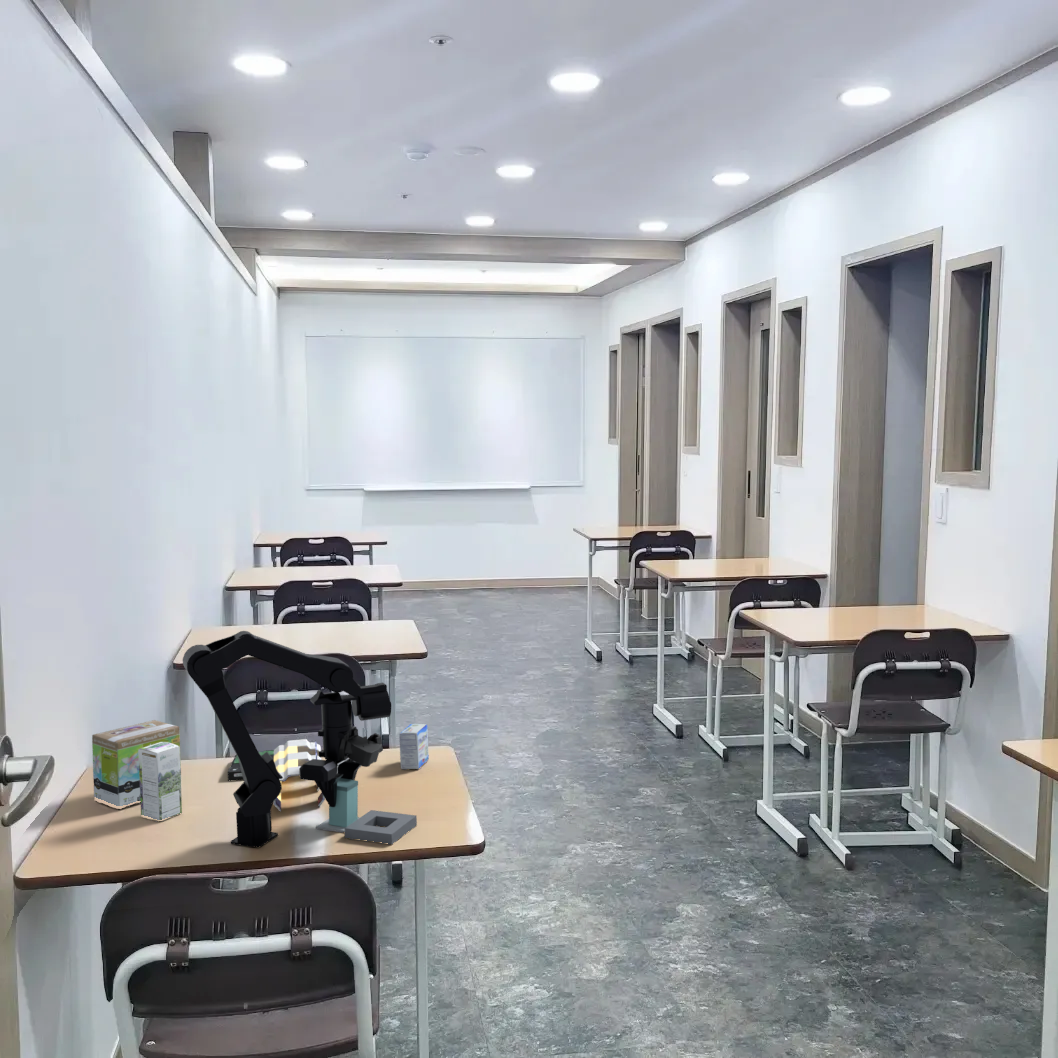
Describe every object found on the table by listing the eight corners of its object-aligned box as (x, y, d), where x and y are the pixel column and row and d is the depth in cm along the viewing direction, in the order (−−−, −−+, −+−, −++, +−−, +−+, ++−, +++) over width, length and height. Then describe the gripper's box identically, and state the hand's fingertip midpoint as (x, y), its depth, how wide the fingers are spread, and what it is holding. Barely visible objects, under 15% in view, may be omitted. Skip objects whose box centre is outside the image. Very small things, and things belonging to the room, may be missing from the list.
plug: (346, 827, 197) (347, 787, 196) (328, 824, 199) (328, 784, 198) (357, 820, 201) (358, 780, 200) (339, 817, 202) (339, 777, 202)
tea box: (119, 812, 210) (115, 741, 209) (93, 802, 216) (89, 734, 215) (183, 791, 222) (180, 724, 221) (156, 782, 228) (153, 717, 227)
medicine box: (418, 770, 232) (417, 733, 232) (400, 769, 233) (398, 732, 233) (429, 759, 240) (427, 723, 239) (410, 759, 241) (409, 723, 240)
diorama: (325, 808, 210) (323, 746, 209) (273, 813, 208) (271, 750, 207) (321, 771, 234) (319, 715, 233) (275, 775, 232) (272, 719, 231)
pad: (347, 833, 196) (347, 831, 196) (315, 828, 198) (315, 826, 198) (365, 820, 202) (365, 818, 202) (335, 816, 205) (335, 814, 205)
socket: (391, 844, 189) (391, 834, 189) (345, 838, 193) (344, 828, 193) (416, 825, 199) (416, 815, 198) (371, 819, 202) (371, 810, 202)
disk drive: (275, 780, 230) (280, 759, 244) (274, 768, 229) (280, 748, 244) (227, 784, 228) (236, 762, 243) (227, 772, 228) (235, 751, 242)
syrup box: (163, 809, 211) (160, 740, 210) (183, 814, 208) (179, 744, 207) (140, 818, 206) (136, 747, 205) (160, 823, 203) (156, 751, 202)
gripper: (348, 740, 187) (351, 823, 188) (396, 714, 204) (399, 790, 205) (296, 735, 191) (299, 817, 192) (348, 710, 208) (351, 785, 209)
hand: (340, 802), depth 200 cm, fingers open, 5 cm apart
